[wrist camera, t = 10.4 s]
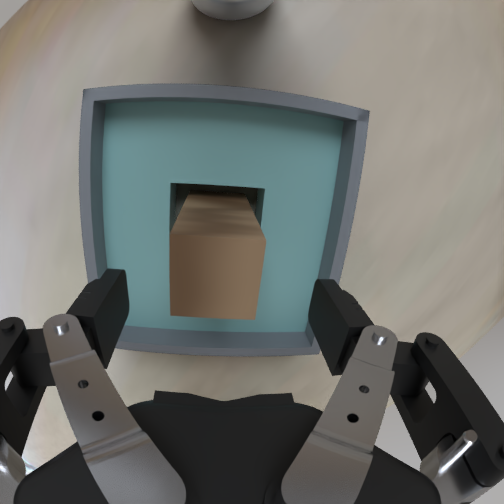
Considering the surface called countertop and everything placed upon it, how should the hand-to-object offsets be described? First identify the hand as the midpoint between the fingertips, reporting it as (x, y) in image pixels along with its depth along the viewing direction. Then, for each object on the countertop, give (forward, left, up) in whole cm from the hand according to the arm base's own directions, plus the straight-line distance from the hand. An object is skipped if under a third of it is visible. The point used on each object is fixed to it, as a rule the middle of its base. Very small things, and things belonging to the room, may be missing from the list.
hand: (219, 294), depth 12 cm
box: (0, 0, -11) cm, 11 cm away
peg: (0, 0, -11) cm, 11 cm away
